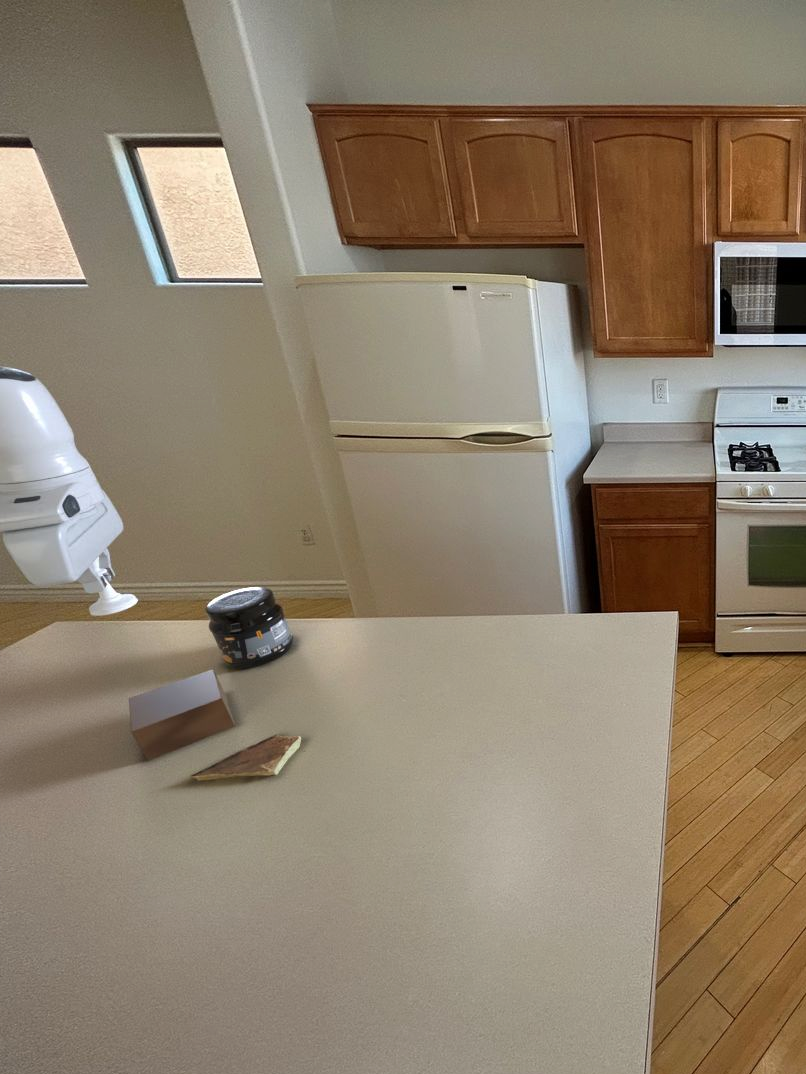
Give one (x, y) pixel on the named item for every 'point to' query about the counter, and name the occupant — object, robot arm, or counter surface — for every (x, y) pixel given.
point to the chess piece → (110, 598)
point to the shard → (254, 759)
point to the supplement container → (249, 627)
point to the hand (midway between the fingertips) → (102, 585)
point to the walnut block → (179, 714)
